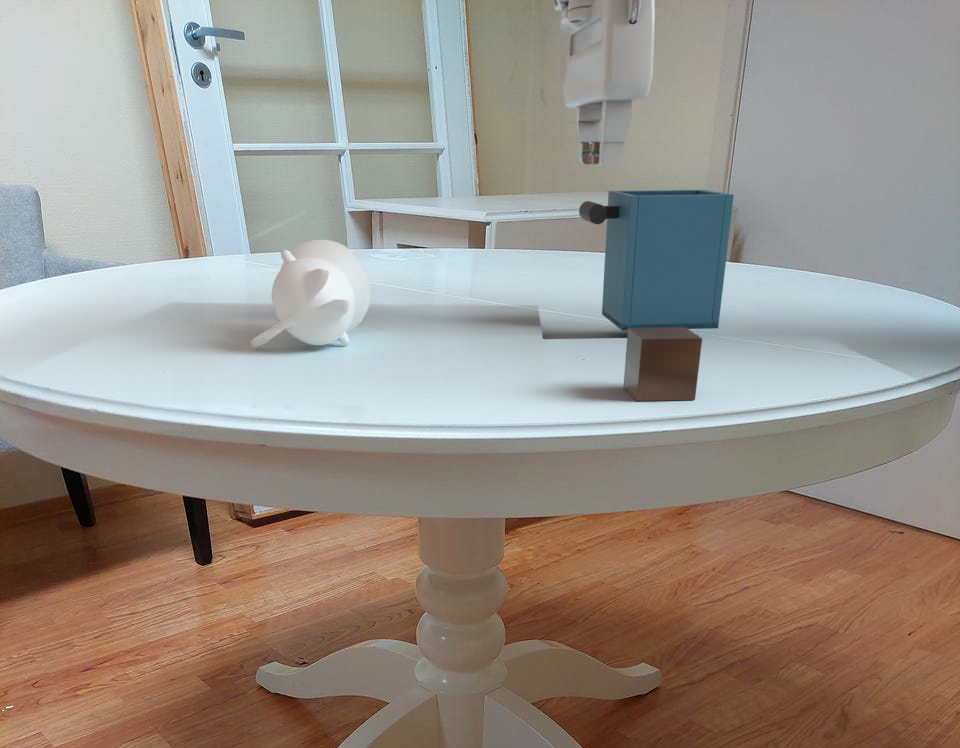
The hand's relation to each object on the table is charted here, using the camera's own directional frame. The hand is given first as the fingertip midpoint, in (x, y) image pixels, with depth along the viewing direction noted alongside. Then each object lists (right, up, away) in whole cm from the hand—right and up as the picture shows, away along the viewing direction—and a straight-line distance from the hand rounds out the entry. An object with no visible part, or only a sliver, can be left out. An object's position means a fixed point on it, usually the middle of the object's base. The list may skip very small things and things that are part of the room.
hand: (599, 165), depth 78 cm
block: (+2, -25, -17) cm, 30 cm away
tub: (+5, -11, +7) cm, 14 cm away
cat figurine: (-25, -16, -1) cm, 30 cm away
